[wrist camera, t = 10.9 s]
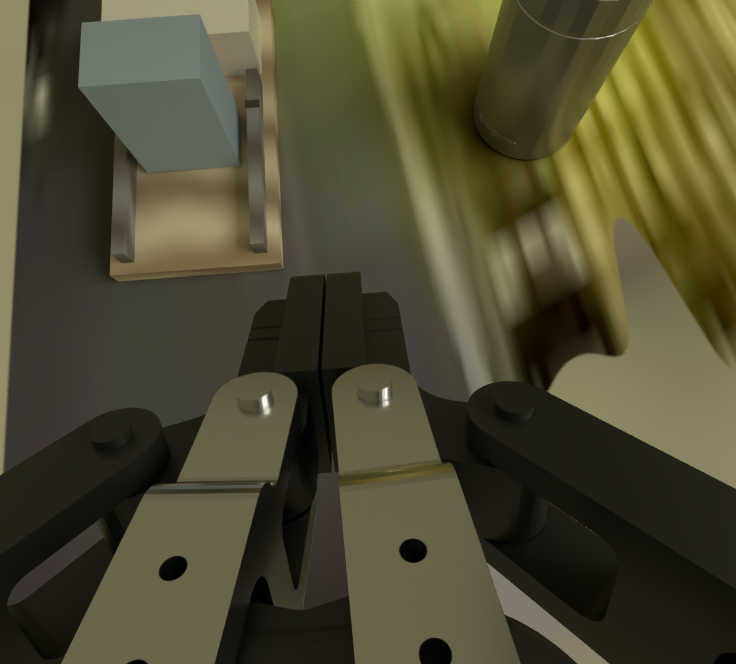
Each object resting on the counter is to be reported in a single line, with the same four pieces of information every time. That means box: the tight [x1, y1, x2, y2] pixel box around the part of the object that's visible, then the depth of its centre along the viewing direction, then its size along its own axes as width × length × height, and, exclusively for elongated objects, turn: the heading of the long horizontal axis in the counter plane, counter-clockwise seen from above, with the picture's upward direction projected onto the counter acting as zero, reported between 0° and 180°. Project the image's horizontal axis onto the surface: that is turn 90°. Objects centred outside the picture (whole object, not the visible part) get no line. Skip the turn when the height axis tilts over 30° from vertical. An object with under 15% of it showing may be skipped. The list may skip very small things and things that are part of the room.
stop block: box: [101, 0, 262, 77], centre depth 47 cm, size 7×12×5 cm, turn 94°
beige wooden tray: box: [110, 0, 283, 281], centre depth 47 cm, size 26×14×4 cm, turn 4°
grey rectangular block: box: [78, 14, 241, 173], centre depth 41 cm, size 5×8×11 cm, turn 94°
